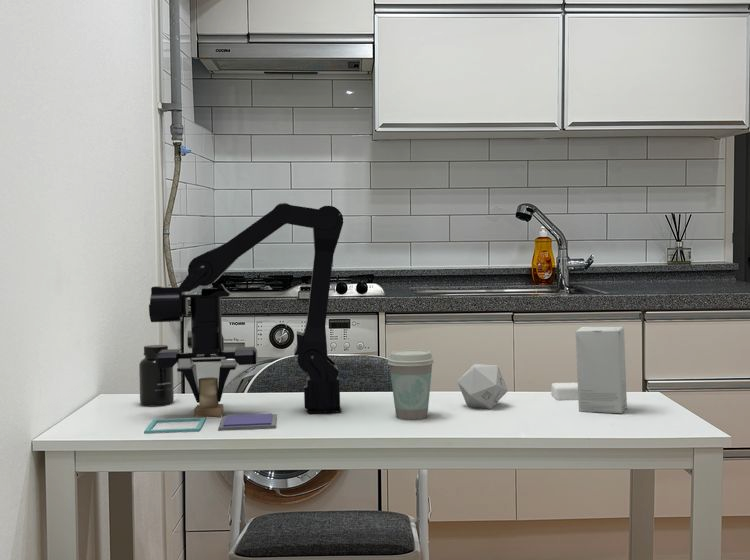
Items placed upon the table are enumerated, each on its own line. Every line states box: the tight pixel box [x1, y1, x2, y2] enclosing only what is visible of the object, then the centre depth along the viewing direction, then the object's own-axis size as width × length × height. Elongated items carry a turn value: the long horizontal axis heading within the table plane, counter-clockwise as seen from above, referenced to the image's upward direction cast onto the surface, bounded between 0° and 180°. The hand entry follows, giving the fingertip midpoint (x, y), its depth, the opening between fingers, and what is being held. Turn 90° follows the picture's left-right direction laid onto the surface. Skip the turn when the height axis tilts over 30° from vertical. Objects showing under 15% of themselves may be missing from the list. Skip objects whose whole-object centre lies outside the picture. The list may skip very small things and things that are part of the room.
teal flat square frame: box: [143, 417, 207, 434], centre depth 151 cm, size 10×10×1 cm
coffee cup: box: [387, 349, 435, 421], centre depth 155 cm, size 9×8×12 cm
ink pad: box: [217, 412, 278, 431], centre depth 153 cm, size 10×10×1 cm
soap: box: [550, 382, 578, 401], centre depth 171 cm, size 9×6×3 cm, turn 90°
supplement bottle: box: [138, 344, 175, 406], centre depth 173 cm, size 7×7×12 cm
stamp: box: [193, 376, 224, 418], centre depth 161 cm, size 5×5×7 cm
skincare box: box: [575, 326, 628, 414], centre depth 157 cm, size 8×7×16 cm
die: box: [456, 363, 509, 410], centre depth 164 cm, size 8×9×10 cm
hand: (208, 401), depth 161 cm, fingers closed on stamp, 4 cm apart
